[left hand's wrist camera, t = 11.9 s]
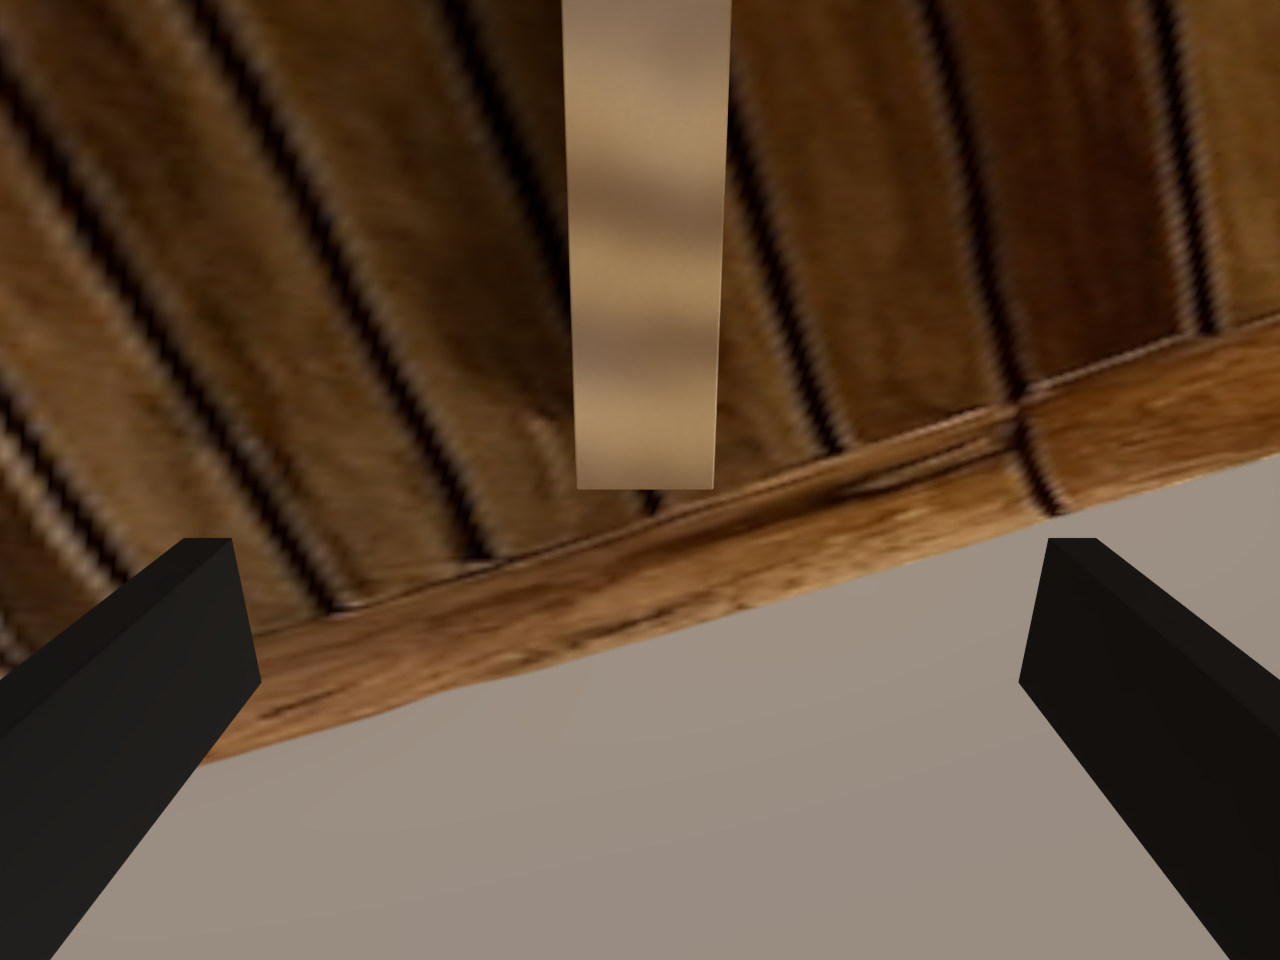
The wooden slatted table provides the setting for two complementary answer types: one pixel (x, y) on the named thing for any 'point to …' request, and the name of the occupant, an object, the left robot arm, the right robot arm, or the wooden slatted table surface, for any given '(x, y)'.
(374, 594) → the wooden slatted table surface
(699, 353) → the post
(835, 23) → the wooden slatted table surface
